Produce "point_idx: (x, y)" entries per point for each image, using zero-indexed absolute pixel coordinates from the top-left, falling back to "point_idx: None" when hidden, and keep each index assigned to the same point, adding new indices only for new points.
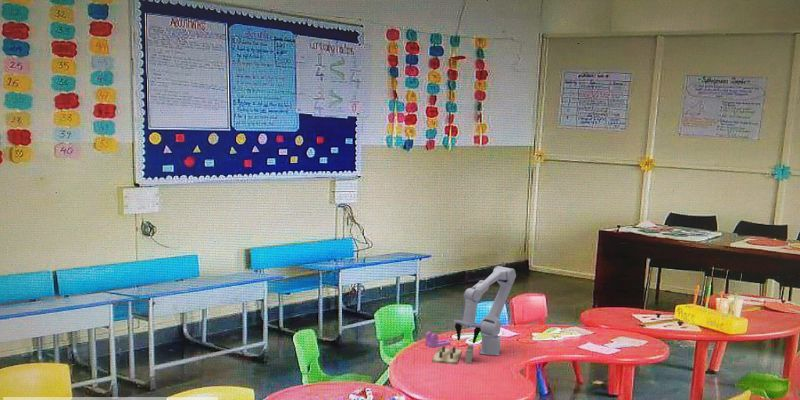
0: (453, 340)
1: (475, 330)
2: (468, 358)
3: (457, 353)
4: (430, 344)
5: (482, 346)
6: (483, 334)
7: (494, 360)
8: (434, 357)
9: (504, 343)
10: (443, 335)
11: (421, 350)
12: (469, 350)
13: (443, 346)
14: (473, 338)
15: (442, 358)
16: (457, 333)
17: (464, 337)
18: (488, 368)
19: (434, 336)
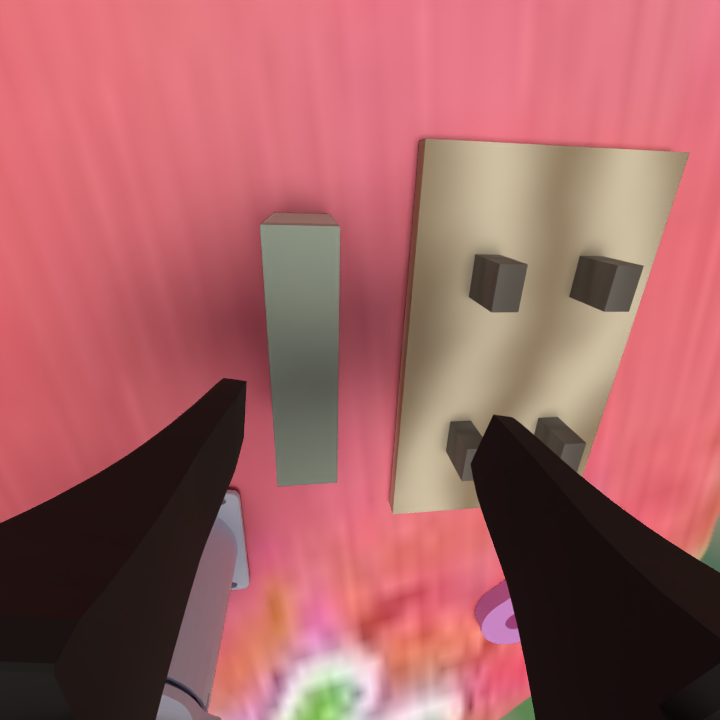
0: (453, 661)
1: (23, 592)
2: (300, 217)
3: (427, 419)
4: None
5: (210, 564)
6: (168, 712)
7: (56, 373)
8: (648, 248)
9: None
10: (508, 702)
11: (688, 442)
12: (292, 263)
13: (571, 463)
14: (216, 423)
15: (575, 235)
16: (592, 494)
17: (390, 715)
18: (11, 50)
19: None
